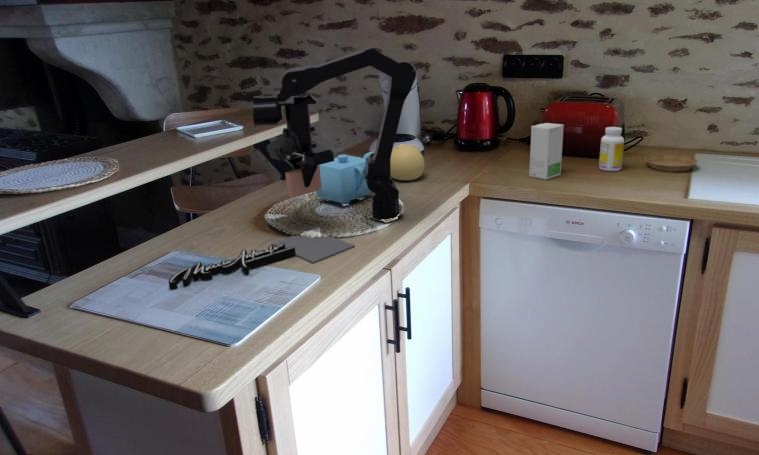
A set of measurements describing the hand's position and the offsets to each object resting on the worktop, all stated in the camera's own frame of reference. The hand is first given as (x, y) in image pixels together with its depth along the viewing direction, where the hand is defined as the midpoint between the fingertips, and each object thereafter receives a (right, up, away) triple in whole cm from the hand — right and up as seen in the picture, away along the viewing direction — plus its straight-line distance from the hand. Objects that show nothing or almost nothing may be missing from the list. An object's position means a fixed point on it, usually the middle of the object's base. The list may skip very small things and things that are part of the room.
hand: (304, 186), depth 144 cm
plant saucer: (+109, +8, +37) cm, 115 cm away
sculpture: (+27, +5, +38) cm, 47 cm away
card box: (0, -2, +1) cm, 2 cm away
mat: (+3, -15, -10) cm, 18 cm away
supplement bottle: (+91, +8, +37) cm, 98 cm away
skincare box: (+69, +5, +34) cm, 77 cm away
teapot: (+11, -2, +23) cm, 26 cm away
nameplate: (-13, -19, -20) cm, 30 cm away
